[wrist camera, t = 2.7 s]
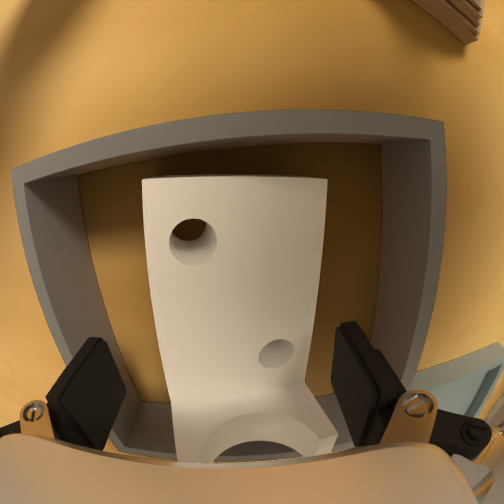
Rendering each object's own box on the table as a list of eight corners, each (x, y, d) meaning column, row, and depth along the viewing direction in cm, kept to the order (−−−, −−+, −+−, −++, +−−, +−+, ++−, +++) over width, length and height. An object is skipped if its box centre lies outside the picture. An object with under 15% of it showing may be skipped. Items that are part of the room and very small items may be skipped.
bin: (391, 129, 12) (443, 121, 8) (369, 393, 17) (389, 437, 13) (65, 163, 12) (11, 169, 8) (135, 407, 18) (118, 451, 13)
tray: (497, 341, 17) (510, 354, 15) (437, 452, 23) (443, 463, 20) (377, 382, 17) (387, 402, 15) (341, 484, 23) (345, 498, 21)
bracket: (278, 375, 18) (326, 460, 11) (174, 389, 16) (188, 490, 9) (292, 174, 14) (396, 190, 7) (150, 176, 12) (120, 188, 5)
